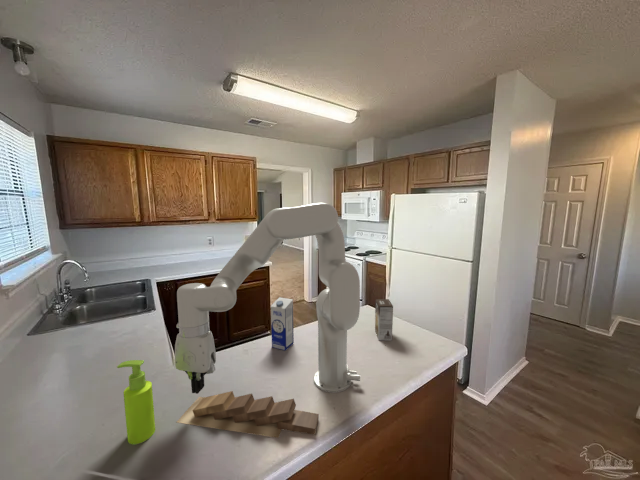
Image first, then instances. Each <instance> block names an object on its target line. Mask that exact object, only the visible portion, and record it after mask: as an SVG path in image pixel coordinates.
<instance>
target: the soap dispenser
mask: <svg viewBox="0 0 640 480" xmlns="http://www.w3.org/2000/svg"><path fill="white" fill-rule="evenodd" d="M144 363H145V360H143V359H142V360H141V359H132V360H131V359H130V360H126V361H123V362H121V363H120V364H118V365H117V366H116V368H117V369H120V368H131V371H132V373H130V374H129V376H128V384H129V385H128V386H127V387H125V389H124V390H123V401H124V402H123V403H124V413H125V415H124V416H125V425H126V427H125V428H126V435H127V438H126V439H127V443H129V444H130V445H138V444H142V443H143V442H146V441H147V440H149V439H151V437H152V436H153V435H154V434H155V432H156V421H155V408H154V407H155V406H154V395H153V394H154V393H153V384H152V383H153V382H151V381H150V380H146V373H145V370H141V367H142V365H143V364H144Z"/></svg>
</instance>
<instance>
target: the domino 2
mask: <svg viewBox="0 0 640 480" xmlns="http://www.w3.org/2000/svg"><path fill="white" fill-rule="evenodd" d="M254 400H255V397H254V395H253V393H248V394H243V395H239V396H235V398H234V399H233V401H232V402H231V404H230V405H229V406H228V408H227V409H226V410H225V411H220V412H216V413H212V414H213V417H214V419H215V420H217V419H221V418H226V417H231V416H235V415H240V414H245V413H247V412H248V410H249V408H250V406H251V405H252V403H253V401H254Z"/></svg>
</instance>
